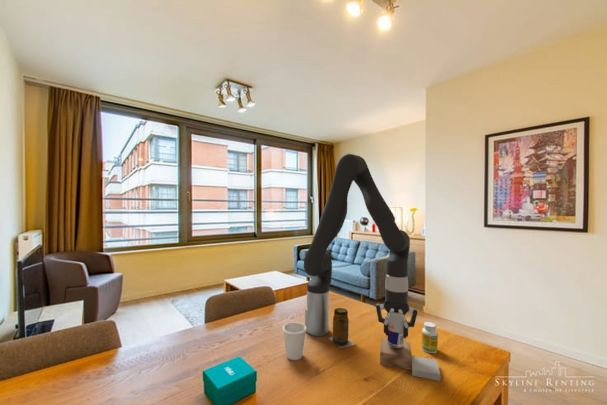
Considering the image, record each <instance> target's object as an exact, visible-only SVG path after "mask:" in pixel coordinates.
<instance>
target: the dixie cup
mask: <svg viewBox="0 0 607 405" xmlns="http://www.w3.org/2000/svg"><path fill="white" fill-rule="evenodd" d="M306 329H307V328H306V326H305V323H302V322H298V321H297V322H296V321H293V322H288V323H285V324H284V325H283V326H282V330H283V335H284V336H283V337H284V344H285V354H286V355H285V356H286V358H287V359H289V360H291V361H297V360H298V361H299V360H300V359H302V357H303V352H304V346H305V340H306V333H307V332H306Z"/></svg>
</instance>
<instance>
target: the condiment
mask: <svg viewBox="0 0 607 405" xmlns="http://www.w3.org/2000/svg"><path fill="white" fill-rule="evenodd" d="M348 313H349V312H348V310H347V309H346V308H344V307H343V308H342V307H338V308H334V311H333V316H332V336H330V337H327V339H328V340H329V341H330V342H331V343H332V344H334V345H335V346H336V347H338V348H339V349H343V348H348V347H350V346H351V347H352V346H354V345H356V343H355V342H353V341H352V340H351V339H349V327H350V326H349V317H348V315H349V314H348Z"/></svg>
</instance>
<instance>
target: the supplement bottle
mask: <svg viewBox="0 0 607 405" xmlns="http://www.w3.org/2000/svg"><path fill="white" fill-rule="evenodd" d="M438 337H439V334H438V331H437V326H436V324H435V323H434V322H431V321H425V322H424V323H423V328H422V329H421V349H422V350H423V351H424V352H426V353H427V354H436V353H437V352H438V342H439V341H438V340H439V338H438Z"/></svg>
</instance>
